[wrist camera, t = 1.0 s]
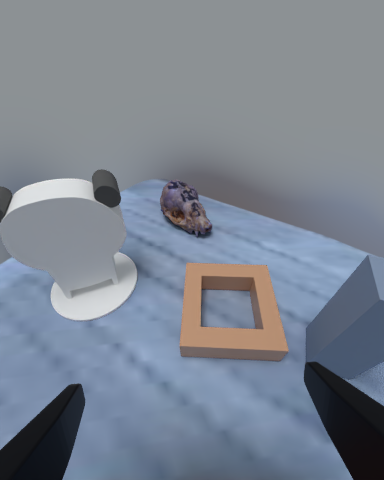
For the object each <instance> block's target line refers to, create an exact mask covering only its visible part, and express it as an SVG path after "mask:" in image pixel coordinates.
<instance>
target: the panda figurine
mask: <svg viewBox="0 0 384 480" xmlns="http://www.w3.org/2000/svg"><path fill="white" fill-rule="evenodd" d="M120 201H121V196H120V192H119V189H118V185H117V181H116V179H115V177H114V175H113V174H112V173H110V172H109V171H106V170H97V171H96V172H95V173H94V174H93V176H92V183H91V182H88V181H85V180H80V179H54V180H48V181H43V182H39V183H35V184H32V185H29V186H26V187H24V188H22V189H20V190H19V191H17V192H16V193H15V194H14V195H13V196H12V193H11V191H10V190H9V189H7V188H5V187H0V235H1V239H2V241H3V244H4V246H5V248H6V249H7V251H8V252H9V254H10V255H11V256H12V257H13V258H15V259H16V260H17V261H19V262H21V263H22V264H24V265H26V266H29V267H32V268H35V269H39V270H45V271H48V273H49V274H50V275H51V276H52V278H53V279H54V280H55V282H54V284H53V287H52V290H51V302H52V305H53V307H54V309H55V310H56V311H57V312H58V313H59V314H60V315H61V316H63V317H64V318H66V319H69V320H73V321H91V320H96V319H99V318H102V317H104V316H106V315H108V314H110V313H112V312H114V311H115V310H117V309H118V308H119V307H121V306H122V305H123V304H124V303H125V302H126V301H127V300H128V298H129V297H130V296H131V294H132V293H133V291H134V289H135V286H136V283H137V276H138V275H137V269H136V266H135V264H134V262H133V261H132V260H131V259H130V258H129V257H128V256H126V255H125V254H122V253H120V252H118V251H119V250H120V248H121V247H122V245H123V243H124V241H125V238H126V228H125V224H124V220H123V216H122V212H121V209H120V206H119V203H120Z"/></svg>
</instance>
